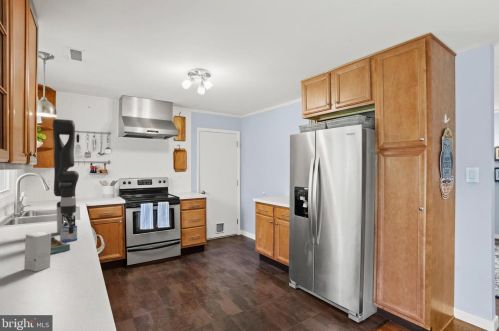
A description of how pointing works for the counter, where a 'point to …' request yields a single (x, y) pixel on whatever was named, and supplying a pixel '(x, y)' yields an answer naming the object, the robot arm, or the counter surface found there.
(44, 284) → the counter surface
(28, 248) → the skincare box
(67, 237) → the medicine box
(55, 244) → the wooden tray
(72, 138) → the robot arm
